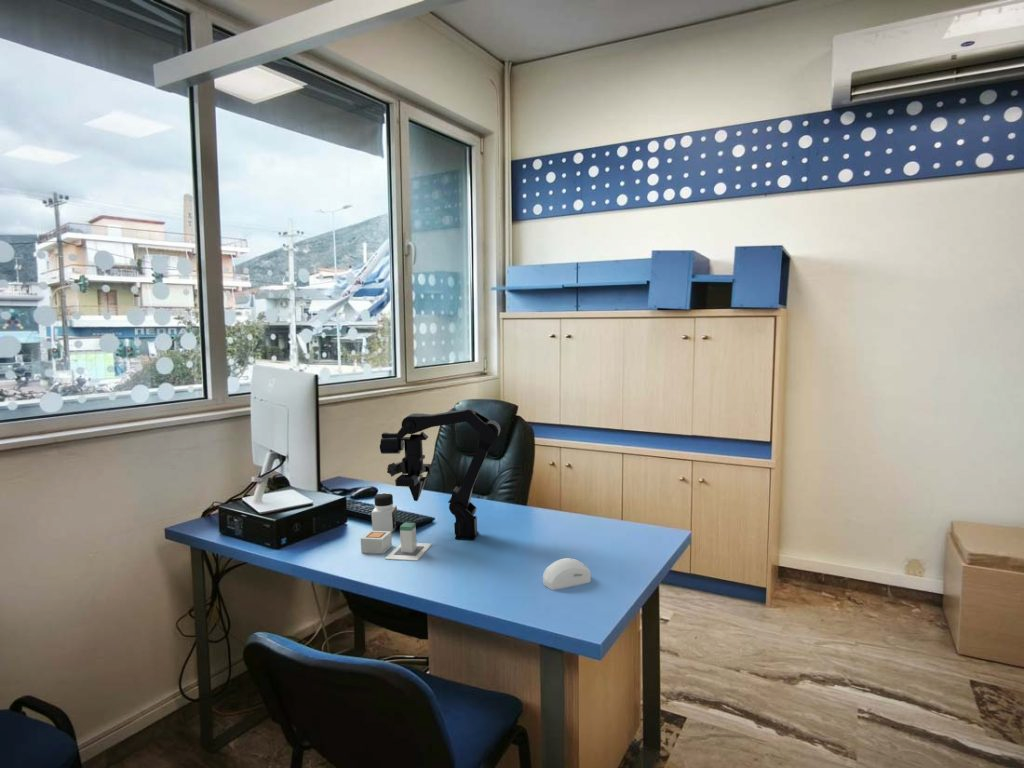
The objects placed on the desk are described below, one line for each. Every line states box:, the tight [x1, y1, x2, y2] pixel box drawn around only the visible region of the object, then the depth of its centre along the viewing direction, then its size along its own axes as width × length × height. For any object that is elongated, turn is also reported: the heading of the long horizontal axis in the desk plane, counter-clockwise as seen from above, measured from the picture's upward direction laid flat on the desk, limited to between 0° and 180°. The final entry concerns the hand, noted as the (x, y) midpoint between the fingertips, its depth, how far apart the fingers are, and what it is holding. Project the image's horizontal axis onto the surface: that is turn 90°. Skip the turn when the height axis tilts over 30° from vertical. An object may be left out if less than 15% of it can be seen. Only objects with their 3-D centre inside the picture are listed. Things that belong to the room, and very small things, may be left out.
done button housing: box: [360, 530, 393, 555], centre depth 189 cm, size 7×7×4 cm
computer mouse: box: [542, 557, 592, 591], centre depth 161 cm, size 6×13×6 cm, turn 111°
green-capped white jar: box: [399, 522, 417, 553], centre depth 185 cm, size 4×4×8 cm
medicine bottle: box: [371, 492, 398, 533], centre depth 207 cm, size 7×7×12 cm
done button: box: [368, 533, 384, 538], centre depth 189 cm, size 4×4×2 cm
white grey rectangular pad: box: [384, 542, 433, 562], centre depth 186 cm, size 10×13×1 cm
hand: (416, 500), depth 198 cm, fingers closed
